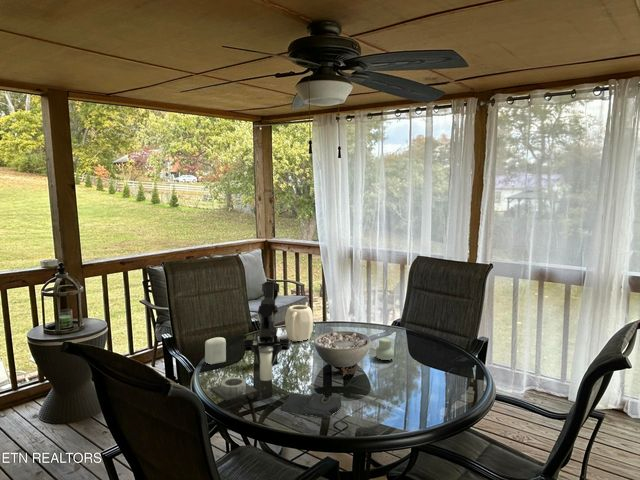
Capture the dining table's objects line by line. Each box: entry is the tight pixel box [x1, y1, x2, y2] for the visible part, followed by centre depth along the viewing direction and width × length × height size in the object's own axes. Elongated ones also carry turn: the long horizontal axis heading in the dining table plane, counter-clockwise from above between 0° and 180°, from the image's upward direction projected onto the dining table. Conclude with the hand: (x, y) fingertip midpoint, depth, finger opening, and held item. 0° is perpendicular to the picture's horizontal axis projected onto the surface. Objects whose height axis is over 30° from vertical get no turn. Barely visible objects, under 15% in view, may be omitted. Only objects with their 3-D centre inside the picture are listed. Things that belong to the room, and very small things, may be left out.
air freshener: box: [375, 337, 395, 361], centre depth 223 cm, size 11×8×10 cm
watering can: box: [284, 301, 314, 342], centre depth 254 cm, size 16×27×19 cm, turn 163°
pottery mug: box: [340, 363, 358, 375], centre depth 204 cm, size 12×10×8 cm
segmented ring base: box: [210, 376, 258, 402], centre depth 185 cm, size 14×14×4 cm
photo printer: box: [204, 336, 227, 365], centre depth 216 cm, size 10×4×12 cm, turn 123°
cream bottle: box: [259, 346, 273, 382], centre depth 180 cm, size 6×6×12 cm
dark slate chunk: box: [281, 392, 342, 418], centre depth 171 cm, size 15×22×5 cm
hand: (265, 363), depth 179 cm, fingers closed on cream bottle, 5 cm apart
